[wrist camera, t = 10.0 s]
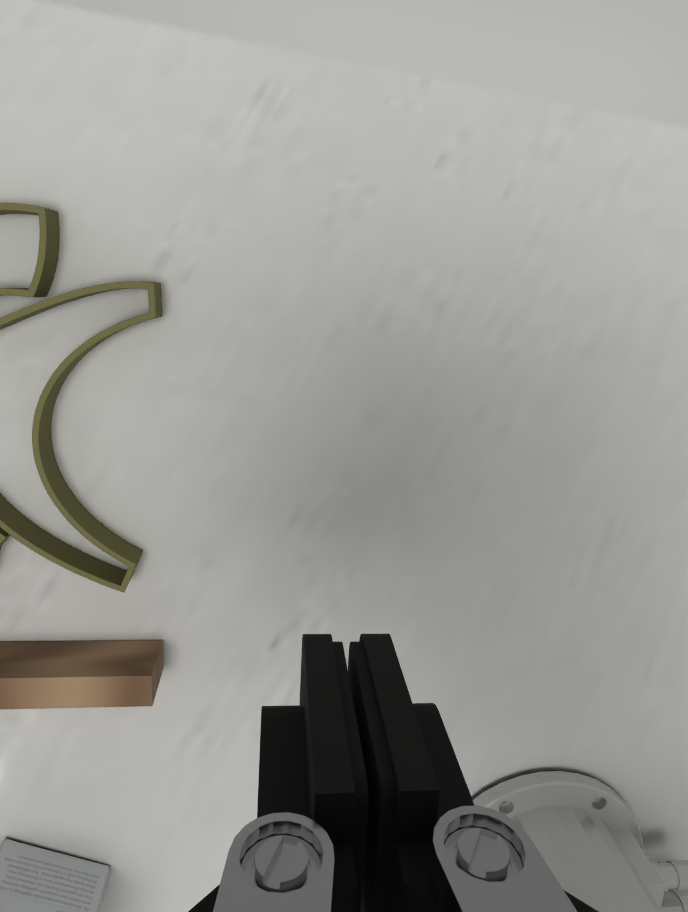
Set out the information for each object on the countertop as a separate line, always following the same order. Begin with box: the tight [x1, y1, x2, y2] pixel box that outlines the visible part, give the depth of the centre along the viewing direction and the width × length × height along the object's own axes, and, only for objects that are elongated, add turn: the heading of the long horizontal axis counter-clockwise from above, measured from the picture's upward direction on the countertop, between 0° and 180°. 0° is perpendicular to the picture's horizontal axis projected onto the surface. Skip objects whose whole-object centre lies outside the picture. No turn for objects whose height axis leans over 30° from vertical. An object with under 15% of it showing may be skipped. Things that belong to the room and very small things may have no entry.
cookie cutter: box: [0, 203, 162, 592], centre depth 28 cm, size 18×12×2 cm, turn 170°
